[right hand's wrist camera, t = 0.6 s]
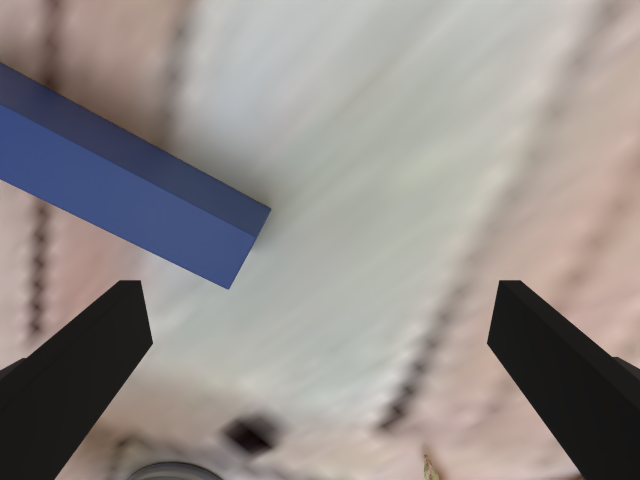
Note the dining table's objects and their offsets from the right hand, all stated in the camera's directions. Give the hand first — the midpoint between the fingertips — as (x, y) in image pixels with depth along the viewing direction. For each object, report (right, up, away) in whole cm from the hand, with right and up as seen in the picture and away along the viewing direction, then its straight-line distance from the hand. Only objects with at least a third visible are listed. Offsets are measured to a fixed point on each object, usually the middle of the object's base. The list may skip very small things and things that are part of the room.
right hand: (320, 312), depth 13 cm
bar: (-18, +10, +19) cm, 28 cm away
